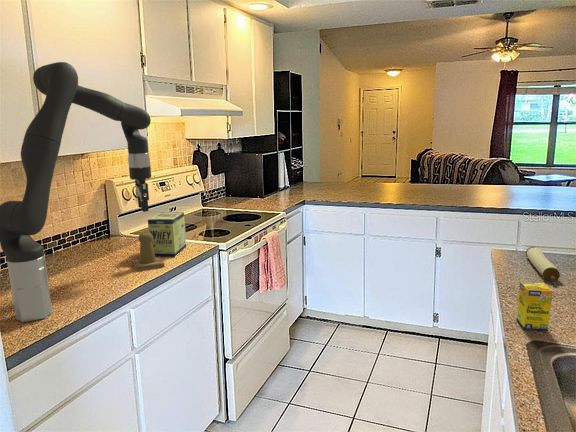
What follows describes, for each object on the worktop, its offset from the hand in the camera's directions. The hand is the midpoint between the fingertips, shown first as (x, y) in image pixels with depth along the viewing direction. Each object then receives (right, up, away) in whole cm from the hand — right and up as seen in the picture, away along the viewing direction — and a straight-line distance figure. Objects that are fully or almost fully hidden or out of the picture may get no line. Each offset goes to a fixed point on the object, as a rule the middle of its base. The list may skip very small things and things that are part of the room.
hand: (143, 209), depth 168 cm
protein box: (+4, -18, +23) cm, 29 cm away
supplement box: (+117, -31, -50) cm, 131 cm away
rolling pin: (+143, -22, -8) cm, 145 cm away
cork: (0, -20, +4) cm, 20 cm away
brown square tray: (0, -21, +5) cm, 22 cm away
